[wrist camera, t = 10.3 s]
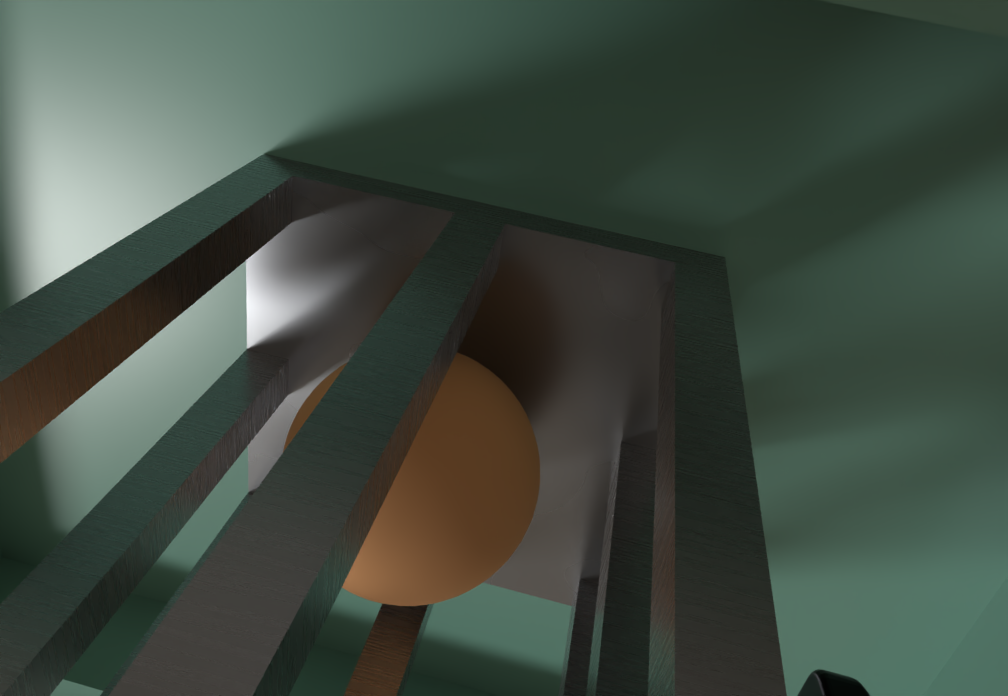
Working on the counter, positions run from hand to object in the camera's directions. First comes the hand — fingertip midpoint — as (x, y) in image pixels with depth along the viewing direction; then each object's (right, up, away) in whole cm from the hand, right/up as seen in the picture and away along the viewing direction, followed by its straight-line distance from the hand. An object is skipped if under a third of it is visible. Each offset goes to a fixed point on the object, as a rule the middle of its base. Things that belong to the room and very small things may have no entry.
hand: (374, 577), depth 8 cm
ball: (0, +1, +1) cm, 1 cm away
